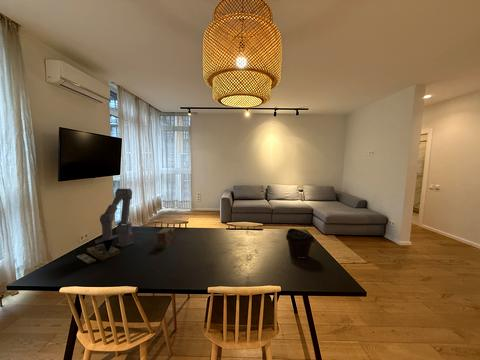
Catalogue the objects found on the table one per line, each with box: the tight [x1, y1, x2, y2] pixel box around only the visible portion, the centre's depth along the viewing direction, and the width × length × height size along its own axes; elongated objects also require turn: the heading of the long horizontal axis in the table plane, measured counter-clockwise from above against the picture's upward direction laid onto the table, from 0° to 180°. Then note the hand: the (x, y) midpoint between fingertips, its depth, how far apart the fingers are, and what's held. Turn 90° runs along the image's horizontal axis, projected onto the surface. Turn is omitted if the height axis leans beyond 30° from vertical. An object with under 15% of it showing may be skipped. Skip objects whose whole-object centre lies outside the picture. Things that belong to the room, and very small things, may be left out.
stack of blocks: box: [156, 227, 176, 250], centre depth 171 cm, size 21×6×12 cm, turn 177°
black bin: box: [285, 228, 315, 260], centre depth 154 cm, size 18×20×18 cm
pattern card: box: [76, 253, 97, 264], centre depth 142 cm, size 5×17×1 cm, turn 57°
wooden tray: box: [86, 243, 120, 261], centre depth 150 cm, size 12×20×3 cm, turn 57°
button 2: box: [99, 243, 106, 251], centre depth 150 cm, size 4×4×3 cm
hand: (107, 250), depth 147 cm, fingers closed, pressing on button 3
